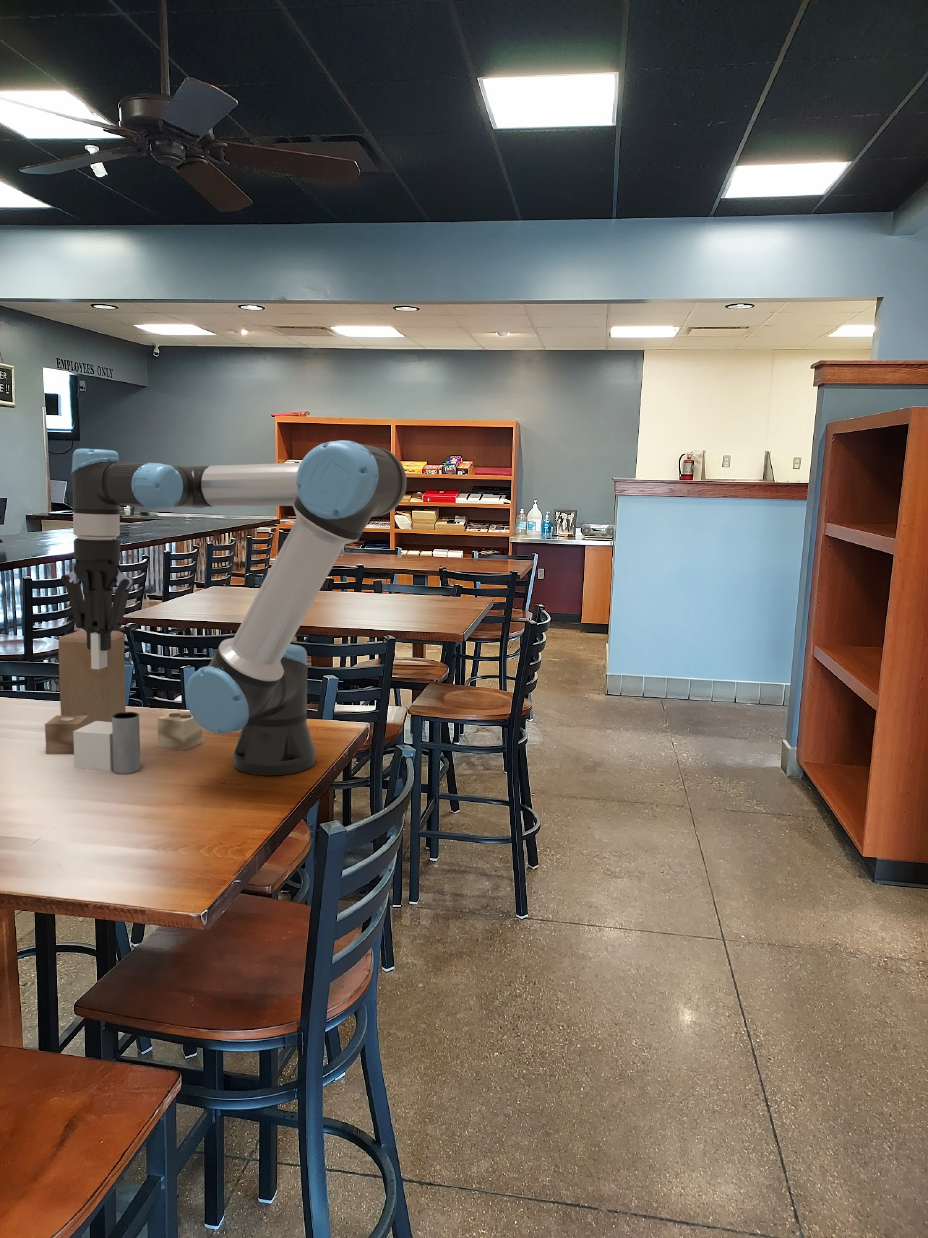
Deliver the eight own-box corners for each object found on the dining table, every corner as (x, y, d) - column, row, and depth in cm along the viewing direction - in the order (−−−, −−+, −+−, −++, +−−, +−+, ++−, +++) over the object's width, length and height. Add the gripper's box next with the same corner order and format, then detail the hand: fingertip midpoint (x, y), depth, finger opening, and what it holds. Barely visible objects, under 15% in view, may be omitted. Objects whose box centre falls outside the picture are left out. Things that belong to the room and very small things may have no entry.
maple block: (202, 742, 165) (202, 713, 164) (183, 751, 159) (183, 720, 158) (177, 739, 167) (176, 709, 166) (158, 747, 161) (157, 717, 160)
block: (107, 733, 168) (104, 638, 165) (59, 731, 168) (55, 636, 165) (127, 720, 178) (125, 630, 175) (82, 718, 178) (79, 628, 175)
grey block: (131, 759, 153) (130, 723, 152) (110, 771, 146) (109, 734, 145) (97, 756, 154) (96, 720, 153) (74, 768, 147) (73, 731, 146)
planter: (145, 768, 148) (144, 714, 147) (126, 775, 144) (125, 719, 143) (127, 764, 150) (126, 710, 149) (107, 771, 146) (106, 716, 145)
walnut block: (89, 744, 161) (88, 714, 160) (79, 754, 155) (78, 723, 154) (57, 745, 160) (56, 714, 159) (46, 754, 154) (44, 723, 153)
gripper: (142, 538, 147) (143, 666, 151) (75, 534, 149) (78, 660, 152) (119, 540, 140) (121, 674, 143) (49, 536, 141) (53, 669, 145)
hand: (99, 667), depth 148 cm, fingers closed
